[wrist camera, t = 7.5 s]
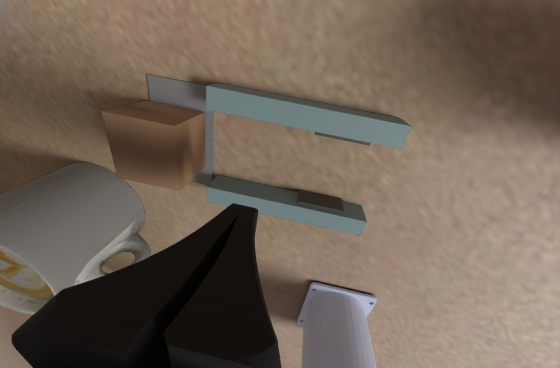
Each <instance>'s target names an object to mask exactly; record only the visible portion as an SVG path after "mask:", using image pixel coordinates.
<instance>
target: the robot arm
mask: <svg viewBox="0 0 560 368" xmlns="http://www.w3.org/2000/svg"><path fill="white" fill-rule="evenodd" d="M257 217H258V210H257V208H253V207H248V206H244V205H239V204H235V203H232V204H231V205H230V206H228V207H227V208H226V209H225V210H223V211H222V212H221V213H220V214H218V215H217V216H216V217H214V218H213V219H212V220H210V221H209V222H208V223H206V224H205V225H204V226H202V227H201V228H199V229H198V230H196V231H195V232H193V233H192V234H190V235H189V236H187V237H186V238H184V239H182V240H181V241H179V242H177V243H175V244H174V245H172V246H170V247H168V248H166V249H165V250H163V251H161V252H159V253H156V254H154V255H152V256H150V257H148V258H146V259H144V260H142V261H139V262H137V263H135V264H132V265H130V266H128V267H125V268H123V269H120V270H117V271H115V272H112V273H110V274H107V275H104V276H101V277H98V278H95V279H92V280H89V281H86V282H83V283H80V284H77V285H74V286H71V287H68V288H65V289H62V290H61V291H60V292H59V293H57V294H56V295H55V296H54V297H53V298H52V299H51V300H49V301H48V302H47V303H46V304H45V305H44V306H43V307H42V308H40V309H39V310H38V311H37V312H36V313H35V314H34V315H33V316H31V317H30V319H28V320H27V321H26V322H25V323H24V324H23V325H22V326H20V327H19V328H18V329H17V330H16V331H15V332H14V333H13V334H12V344H13V346H14V347H15V348H16V350H17V351H18V352H19V353H20V354H21V355H22V356H23V357H24V358H25V359H26V360H27V362H28V363H29V364H30V365H31V366H32V367H33V368H281V361H280V354H279V348H278V341H277V338H276V335H275V332H274V329H273V326H272V323H271V320H270V317H269V314H268V311H267V307H266V304H265V300H264V296H263V292H262V288H261V284H260V279H259V274H258V268H257V262H256V253H255V231H256V224H257ZM376 302H377V298H376V297H375V296H373V295H369V294H364V293H360V292H356V291H351V290H347V289H343V288H338V287H334V286H330V285H325V284H321V283H317V282H312V283H311V285H310V287H309V290H308V293H307V295H306V298H305V301H304V303H303V306H302V309H301V311H300V314H299V317H298V319H297V326H299V327H303V347H302V368H376V363H375V358H374V353H373V348H372V343H371V338H370V333H369V328H368V323H367V316H368V315H369V313H370V312H371V310H372V308H373V307H374V305H375V304H376Z"/></svg>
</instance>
